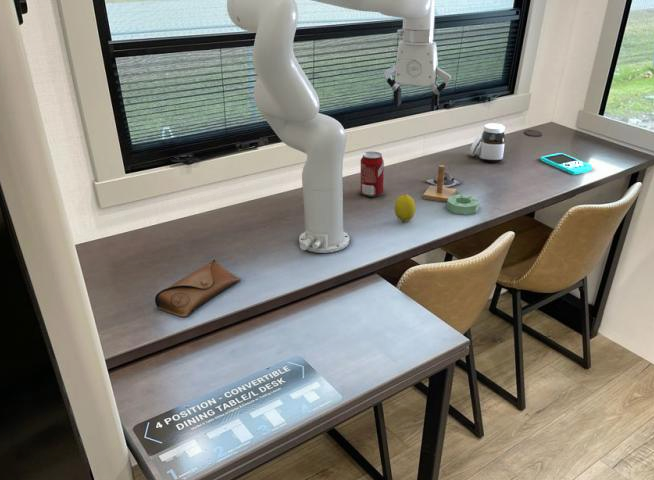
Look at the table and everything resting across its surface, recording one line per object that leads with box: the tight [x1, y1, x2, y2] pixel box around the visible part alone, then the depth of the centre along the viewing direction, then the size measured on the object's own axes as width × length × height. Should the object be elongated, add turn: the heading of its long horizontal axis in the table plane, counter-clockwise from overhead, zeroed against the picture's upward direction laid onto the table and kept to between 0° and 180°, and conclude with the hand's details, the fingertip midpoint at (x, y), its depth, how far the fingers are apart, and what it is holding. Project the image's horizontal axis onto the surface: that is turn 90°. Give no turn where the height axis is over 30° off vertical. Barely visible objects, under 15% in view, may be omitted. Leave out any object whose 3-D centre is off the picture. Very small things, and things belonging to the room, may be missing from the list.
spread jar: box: [468, 122, 506, 164], centre depth 204 cm, size 12×11×12 cm
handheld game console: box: [540, 152, 593, 176], centre depth 204 cm, size 10×16×1 cm, turn 30°
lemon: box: [394, 193, 416, 223], centre depth 161 cm, size 6×6×8 cm
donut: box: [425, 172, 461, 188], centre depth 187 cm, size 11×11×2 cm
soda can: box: [360, 151, 385, 198], centre depth 176 cm, size 7×7×12 cm
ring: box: [446, 194, 480, 216], centre depth 171 cm, size 8×8×2 cm
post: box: [422, 164, 457, 203], centre depth 176 cm, size 8×8×9 cm
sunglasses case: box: [154, 259, 242, 318], centre depth 129 cm, size 18×7×7 cm
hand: (415, 107), depth 156 cm, fingers open, 9 cm apart
